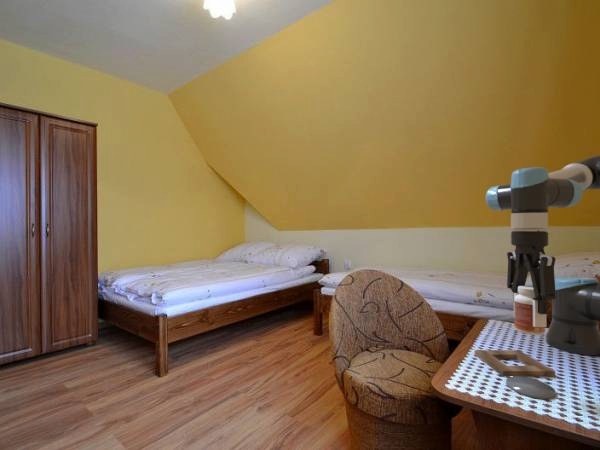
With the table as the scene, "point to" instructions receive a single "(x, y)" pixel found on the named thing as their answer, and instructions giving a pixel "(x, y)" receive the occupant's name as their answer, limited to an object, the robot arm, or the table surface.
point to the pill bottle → (525, 312)
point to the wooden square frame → (530, 370)
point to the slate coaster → (530, 387)
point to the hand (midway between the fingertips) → (529, 321)
